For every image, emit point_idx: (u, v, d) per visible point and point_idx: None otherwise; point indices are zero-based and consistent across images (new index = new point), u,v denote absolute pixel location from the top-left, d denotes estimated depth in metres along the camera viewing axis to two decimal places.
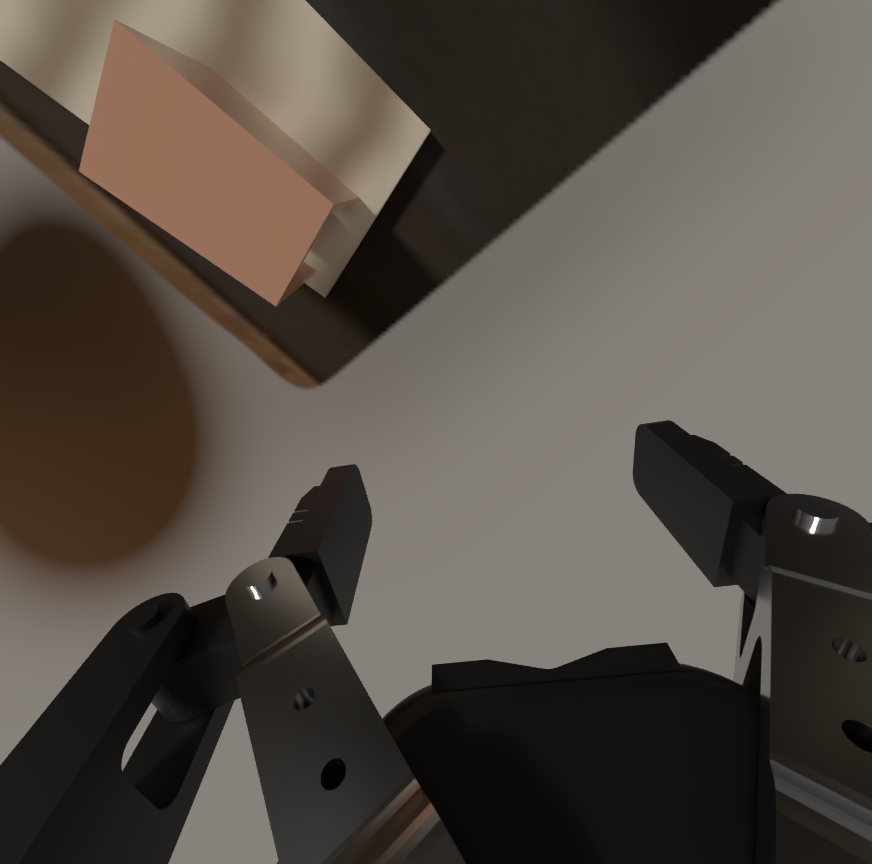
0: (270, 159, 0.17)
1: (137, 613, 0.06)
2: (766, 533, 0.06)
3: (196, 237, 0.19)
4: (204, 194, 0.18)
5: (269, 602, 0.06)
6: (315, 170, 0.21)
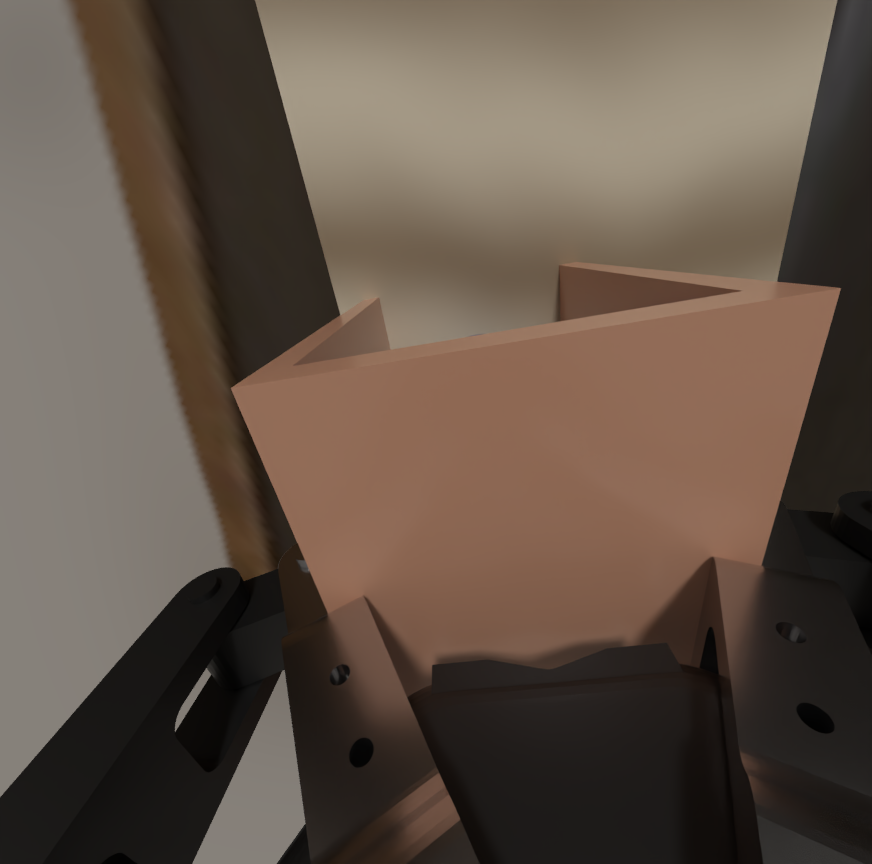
0: None
1: (198, 584, 0.07)
2: None
3: None
4: (513, 645, 0.06)
5: None
6: None
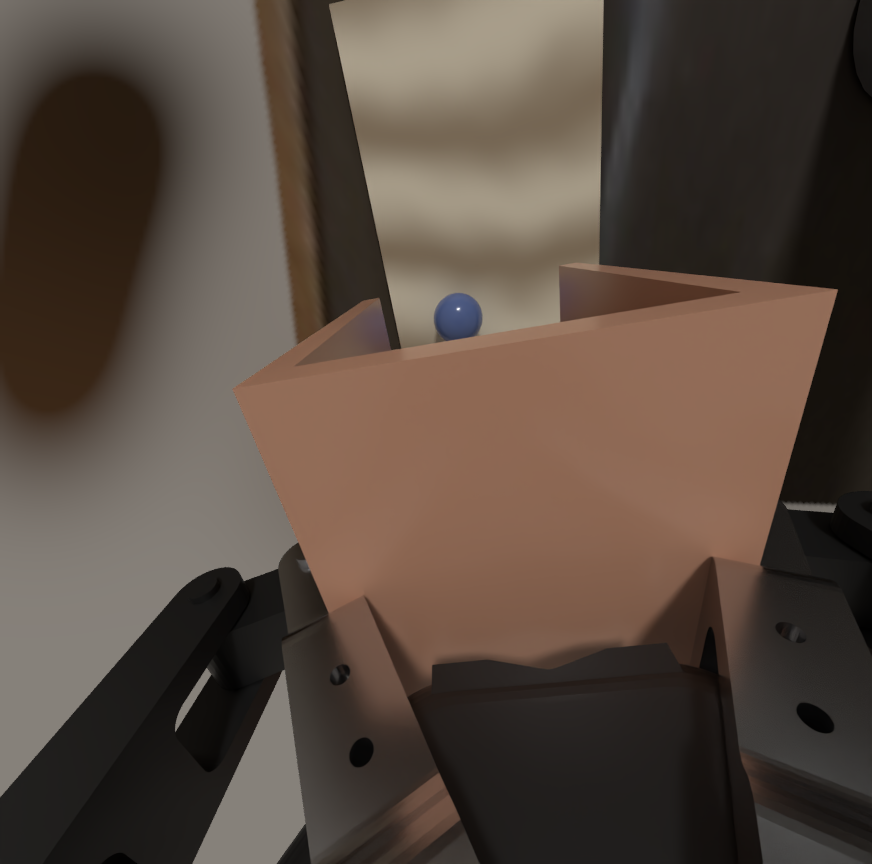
0: None
1: (198, 583, 0.07)
2: None
3: None
4: (513, 644, 0.06)
5: None
6: None
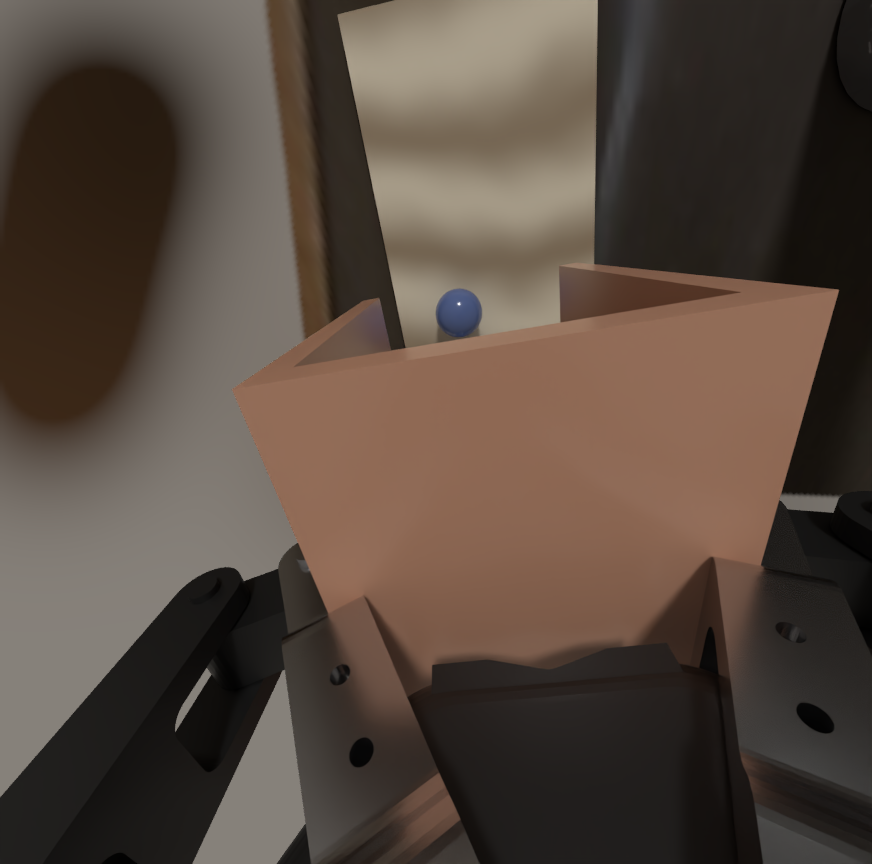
0: None
1: (198, 583, 0.07)
2: None
3: None
4: (513, 645, 0.06)
5: None
6: None
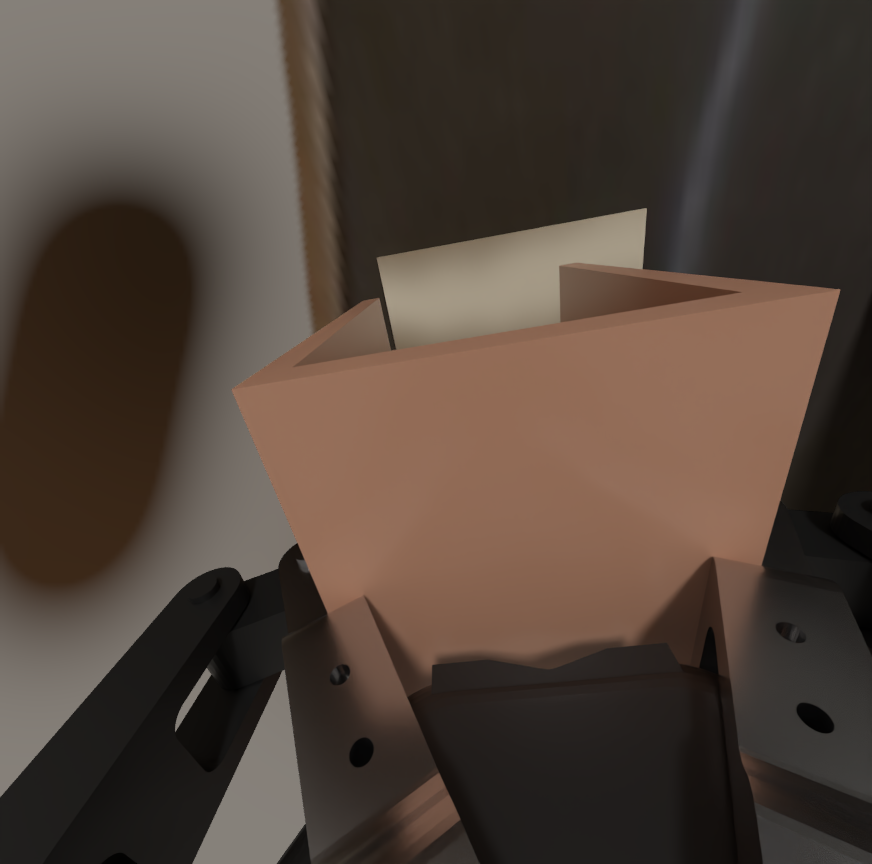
0: None
1: (198, 583, 0.07)
2: None
3: None
4: (513, 645, 0.06)
5: None
6: None
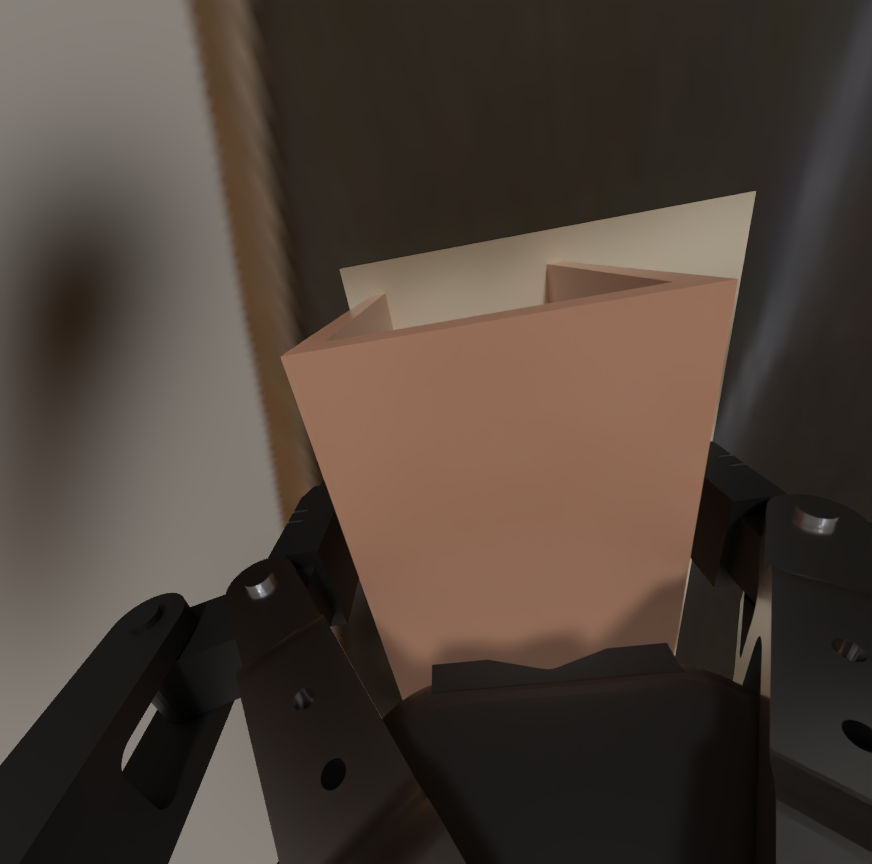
0: (664, 621, 0.08)
1: (137, 613, 0.06)
2: (766, 533, 0.06)
3: (400, 600, 0.08)
4: (501, 576, 0.07)
5: (269, 601, 0.06)
6: None
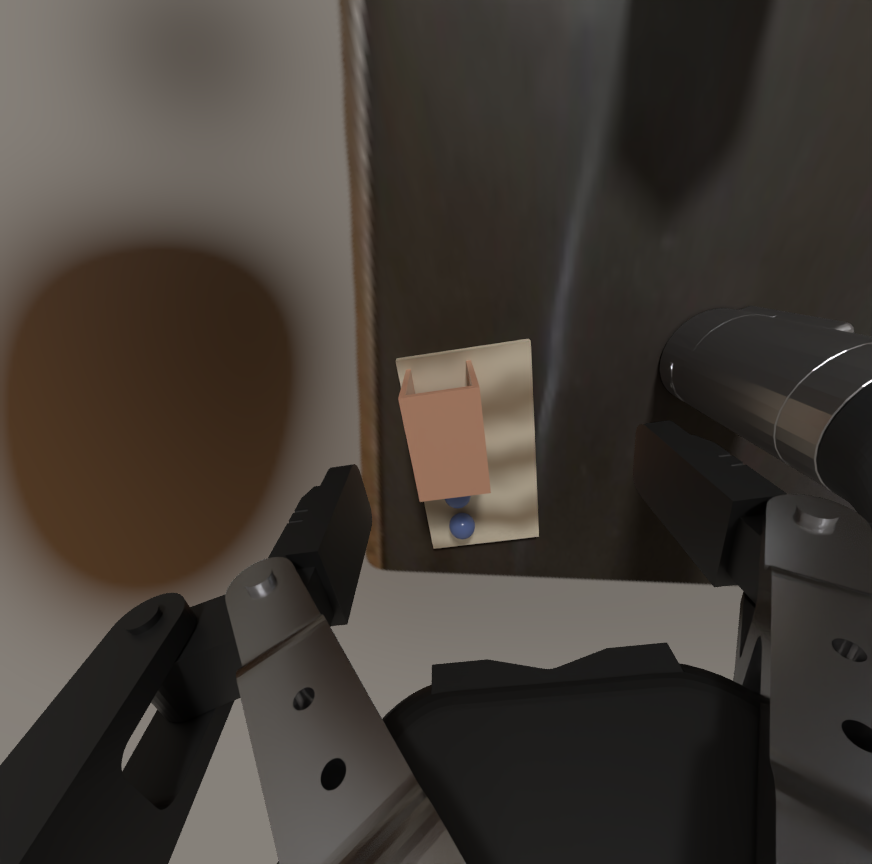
0: (484, 462, 0.32)
1: (137, 613, 0.06)
2: (766, 533, 0.06)
3: (418, 455, 0.32)
4: (442, 448, 0.31)
5: (270, 601, 0.06)
6: None
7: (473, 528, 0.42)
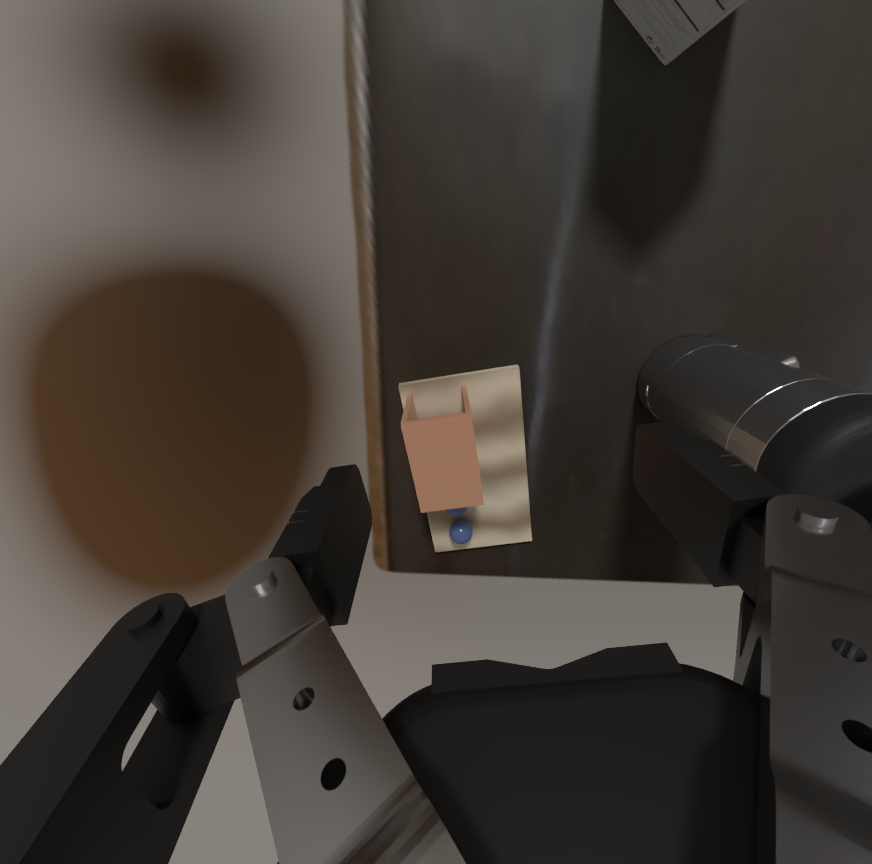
0: (477, 478, 0.36)
1: (137, 613, 0.06)
2: (766, 533, 0.06)
3: (419, 472, 0.36)
4: (440, 466, 0.35)
5: (269, 602, 0.06)
6: None
7: (471, 534, 0.46)
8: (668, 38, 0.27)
